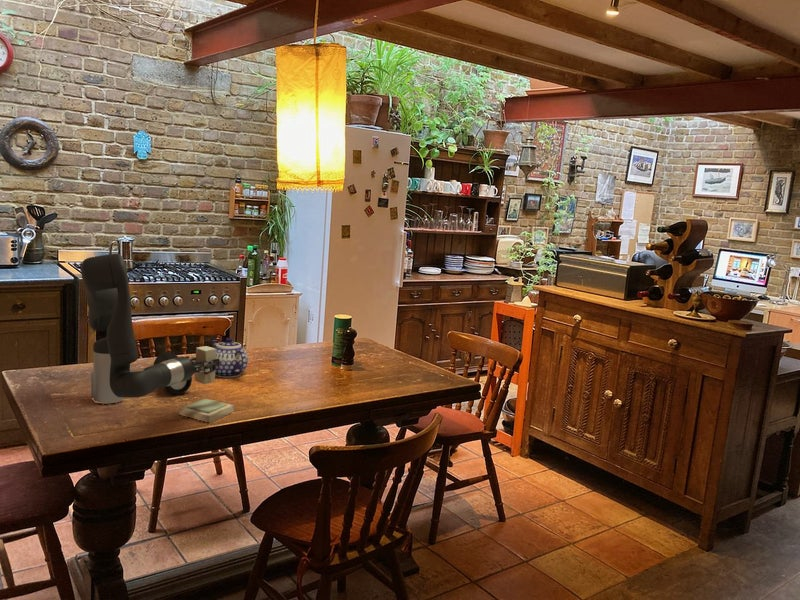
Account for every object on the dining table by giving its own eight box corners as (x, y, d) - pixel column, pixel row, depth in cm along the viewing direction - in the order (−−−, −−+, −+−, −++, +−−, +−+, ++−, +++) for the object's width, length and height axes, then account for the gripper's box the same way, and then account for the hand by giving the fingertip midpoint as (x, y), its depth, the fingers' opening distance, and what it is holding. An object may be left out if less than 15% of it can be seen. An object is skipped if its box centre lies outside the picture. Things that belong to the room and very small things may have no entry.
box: (194, 381, 206) (195, 347, 204) (205, 378, 209) (206, 345, 208) (205, 384, 203) (205, 350, 201) (215, 382, 206) (216, 348, 205)
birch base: (179, 415, 206) (179, 406, 205) (204, 405, 217) (204, 396, 216) (209, 423, 201) (209, 414, 201) (233, 412, 212) (233, 403, 212)
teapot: (260, 380, 248) (261, 343, 246) (223, 385, 239) (225, 347, 236) (230, 363, 267) (232, 329, 264) (196, 368, 257) (197, 332, 255)
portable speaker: (152, 377, 243) (152, 351, 241) (179, 375, 248) (179, 349, 246) (163, 398, 221) (164, 370, 219) (193, 395, 226) (193, 368, 224)
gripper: (192, 363, 189) (229, 352, 204) (155, 355, 194) (193, 345, 210) (192, 388, 190) (228, 375, 205) (154, 379, 195) (193, 367, 211)
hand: (211, 360), depth 207 cm, fingers closed on box, 5 cm apart
